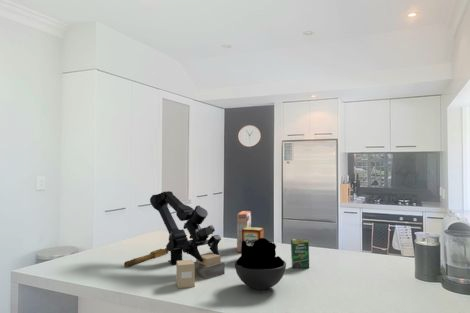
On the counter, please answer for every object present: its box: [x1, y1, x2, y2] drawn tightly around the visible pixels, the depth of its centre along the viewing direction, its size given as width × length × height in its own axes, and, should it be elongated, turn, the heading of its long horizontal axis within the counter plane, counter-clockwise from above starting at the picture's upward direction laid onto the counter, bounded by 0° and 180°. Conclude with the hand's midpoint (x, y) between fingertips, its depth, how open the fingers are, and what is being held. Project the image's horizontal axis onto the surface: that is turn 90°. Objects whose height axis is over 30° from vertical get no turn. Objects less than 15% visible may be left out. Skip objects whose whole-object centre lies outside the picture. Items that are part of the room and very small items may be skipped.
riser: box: [193, 261, 226, 280], centre depth 155 cm, size 10×10×5 cm
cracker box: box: [236, 210, 252, 253], centre depth 199 cm, size 14×6×21 cm, turn 168°
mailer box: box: [176, 259, 196, 289], centre depth 142 cm, size 6×6×9 cm
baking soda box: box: [242, 226, 265, 246], centre depth 178 cm, size 10×6×16 cm
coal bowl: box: [234, 237, 287, 291], centre depth 138 cm, size 20×20×19 cm
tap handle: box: [123, 247, 170, 268], centre depth 179 cm, size 3×3×30 cm
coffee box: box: [290, 238, 310, 269], centre depth 164 cm, size 8×3×13 cm, turn 92°
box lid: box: [195, 252, 222, 266], centre depth 155 cm, size 8×8×3 cm
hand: (210, 259), depth 154 cm, fingers open, 9 cm apart
